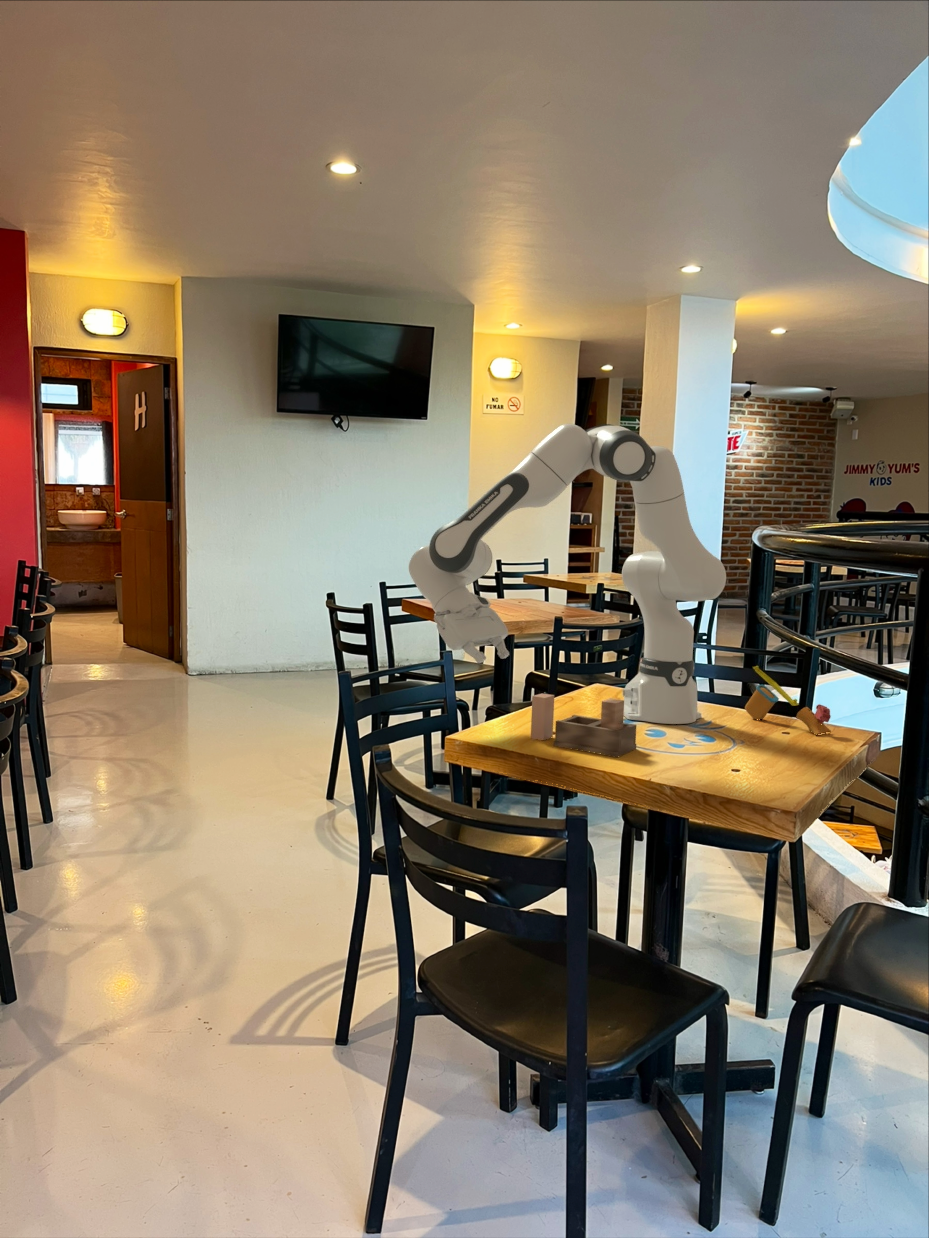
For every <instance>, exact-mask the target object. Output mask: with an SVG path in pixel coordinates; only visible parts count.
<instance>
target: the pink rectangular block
mask: <svg viewBox="0 0 929 1238" xmlns="http://www.w3.org/2000/svg"><path fill="white" fill-rule="evenodd" d="M554 710H555V694H547V693H538V694H535V695H532V696H531V719H530V720H531V721H530V722H531V724H530V739H531V738H532V739H531V740H535V739H538V740H537V741H541V740H544V741H547V740H550V739H551V737H554V736H553V734H554V714H555V713H554V712H555V711H554ZM549 738H550V739H549ZM546 739H547V740H546Z"/></svg>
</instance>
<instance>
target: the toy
mask: <svg viewBox="0 0 929 1238" xmlns="http://www.w3.org/2000/svg"><path fill="white" fill-rule="evenodd" d="M752 669H753V670H754V672H755V673H757V675H759V676H760V677H761V678H762V679H763V680H764V681H765V682H767V683H768V685H769V686H771V687H772V688H773V689H774V690H775V691H776V692H777V693H778V694H779V695H780V696H781V697H782V698H784V700H786V701H787V702H788V703H789V704H790V705H791V706H800V704H799V703H798V699H796V698H794V699H793V698H792V697H791V696H790V695H789V694H788V693H787V692H786V691H784V689H783V688H782V687H780V685H779V684H778V683H777V682H776V681H775V680H773V679H772V678H771V677H770V676H769V675H767V674H766V673H765V672H763V671H762V670H761V669H760V668H759V665H756V666H752ZM779 700H780V698H779V697H778V695H776V694H775V693H774V692H772V690H770V688H768V687H767V686H766V685H764V684H759V685H756V689H755V691H754V692H753V694H752V696H750V698H749V700H748V701H747V702H746V704H745V706H744V710H745V711H746V713H747V714H748V715H749V716H750V717H751V718H752V719H754V720H755V719H756V720H755V721H757V719H758V720H759V719H762V720H764V719H763V718H766V716H767V714H768V713H769V711H770V710H771V709H772V707H773V706H774V705H775V704H776V703H777V702H779ZM815 710H816V711H815V713H814V712H813V711H812V710H811V709H810V708H809V707H808V706H805V707H803V708H802V709H800V710H799V711H798V712H797V714H796V716H795V718H796V719H798V720H799V721H801V722H802V723H803V724H805V725H806V727H807V728H808V730H809V732H810V731H812V732H813V733H815V734H817V735H818V734H821V733H826V732H830V733H831V732H832V730H831V729H829V727H828V726H826V724H825V723H829V721H830V719H831V717H832V715H831V709H830V708H828V707H827V706H825V705H822V704H821V703H819V704H817V705H816V707H815ZM821 724H822V725H821ZM812 732H811V733H812ZM813 733H812V734H813ZM815 734H814V735H815Z"/></svg>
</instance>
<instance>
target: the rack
mask: <svg viewBox="0 0 929 1238" xmlns="http://www.w3.org/2000/svg"><path fill="white" fill-rule="evenodd" d="M600 708H601V710H600V711H601V712H600V714H601V715H600V718H597V717H596V718H594V717H589V716H582V715H579V714H578V715H576V714H572V715H571V716H570V717H567V718H564V719H562V720H561V719H560V720H558V719H557V720H555V728H554V729H555V730H554V731H555V732H554V734H555V735H554V740H553V747H557V746H559V747H558V748H563V747H566V748H565V749H568V748H572V749H571V750H574V749H578V750H577V751H579V750H583V751H582V752H584V751H590V752H595V753H601V754H605V755H604V756H606V755H610V756H609V757H612V756H615V757H614V758H619V757H618V756H620V757H622V756H624V755H626V754H628V753H631V752H633V751H635V750H636V749H637V743H636V739H637V724H633V723H627V722H624V717H625V716H624V699H618V698H608V699H605V700H602V701H601V707H600ZM634 749H635V750H634ZM590 752H589V753H590ZM595 753H594V754H595ZM625 753H626V754H625ZM601 754H600V755H601ZM623 754H624V755H623ZM621 755H622V756H621Z"/></svg>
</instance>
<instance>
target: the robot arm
mask: <svg viewBox="0 0 929 1238" xmlns="http://www.w3.org/2000/svg"><path fill="white" fill-rule="evenodd" d="M591 469H592V470H594V471H595V472H597V473H598V474H600V475H602V476H604V477H608V478H610V479H612V480H614V481H618V482H619V481H620V482H629V483H630V486H631V487H632V495H633V499H634V506H635V513H636V517H637V524H638V529H639V531H640V534H641V535H642V536H643V537H644V539H646V540H647V541H648V542H650V543H652V544H653V545H654V546H655V547H656V548H657V551H656V550H648V551H642V552H641V551H640V552H637V553H636V552H635V553H633V554H631V555H629V556H628V557H627V558H626V559H625V561H624V563H623V566H622V570H621V580H622V583H623V585H624V587H625V589H626V590H627V591H628V592H629V593H630V594H631V595H632V596H633V598H634V600H635V601H636V603H637V605H638V606H639V609H640V613H641V615H642V619H643V620H642V621H643V627H644V648H643V649H644V651H643V657H641V658H639V660H641V661H639V668H638V671H639V672H638V673H637V674H636V675H635V676H634V677H633V678H632V679H631V680H630V681H629V682H628V683H627V684H626V685H625V687H624V688H622V696H623V700H624V716H623V717H625V718H626V719H628V720H630V721H631V720H633V721H642V722H649V723H655V724H664V725H665V724H669V725H676V724H677V725H682V724H691V723H694V722H697V720H699V719H701V718H702V712H700V711H698V685H697V683H696V681H695V680H694V679H693V676H694V672H695V660H694V659H693V656H694V655H693V652H694V651H693V650H694V635H695V631H694V627H693V625H692V622H690V621H689V620H688V619H687V617H686V618H685V617H684V616H683V615H682V614H681V612H680V610H679V608H678V605H677V602H676V601H684V602H692V603H693V602H703V601H709V600H710V601H711V600H715V599H716V598H718V597H719V596H720V595H721V593H722V592H723V590H724V589H725V586H726V584H727V583H726V582H727V573H726V569H725V566H724V563H722V561H721V560H720V559H719V558H718V557H716V555H715V556H714V555H713V554H712V553H711V552H710V551H709V550H708V549H707V548H706V547H705V546H704V545H703V544H702V542H701V541H700V539H699V538H698V536H697V535H696V533H695V531H694V528H693V527H692V523H691V520H690V517H689V513H688V507H687V502H686V496H685V491H684V485H683V480H682V476H681V472H680V469H679V465H678V463H677V459H676V458H675V455H674V453H673V452H672V451H671V449H669V448H667V447H665V446H660V445H653V446H650V445H649V444H648V443H647V441H646V440H645V439H644V438H643V437H642V436H641V435H640V434H639V433H637V432H635V431H633V430H630V429H629V428H626V427H624V426H620V425H613V424H609V423H604V424H603V423H602V424H599V425H596V426H593V427H589V428H587V429H583V428H582V427H581V426H579V425H576V424H573V423H563V424H561V425H559V426H557V428H556V429H554V430H553V431H552V432H550V433H549V434H547V435H546V436H545V437H544V438H543V439H542V440H541V441H539V442H538V444H536V445H535V446H534V448H533V449H532V450H531V451H530V452H529V453H528V454H527V455H526V456H525V457H524V458H523V459H522V460H521V461H520V462H519V463H518V464H517V465H516V466H515V467H514V468H513V470H511V471H510V472H509V473H508V474H507V475H505V476H504V477H503V478H502V479H500V480H499V481H497V482H496V483H495V484H494V485H493V486H492V487H491V488H490V489H488V491H486V492H485V494H483V495H482V496H481V497H480V498H479V499H478V500H477V501H476V502H475V503H474V504H473V505H471V506H470V508H468V509H467V510H466V511H465V512H464V513H463V514H462V515H461V516H459V517H458V518H456V519H454V520H452V521H450V522H448V523H446V524H444V525H442V526H441V527H439V528H438V529H437V530H436V531H435V532H434V533H433V535H432V537H431V539H430V540H429V545H424V546H421V547H420V548H419V549H418V550H417V551H415V552H414V554H413V555H412V556H411V558H410V560H409V562H408V572H409V575H410V578H411V579H412V581H413V583H414V584H415V586H416V588H417V589H418V590H419V592H420V594H421V595H422V596H423V598H425V599H426V600H427V601H428V602H429V603H430V605H431V607H432V610H433V611H434V614H433V615H434V616H433V620H434V622H435V623H436V630H437V631H438V634H439V635H440V636H441V638H442V640H443V641H444V644H445V645H446V646H447V647H448V648H449V649H451V650H452V651H459V650H463V651H464V653H466V654H467V655H468V656H470V657H471V658H473V659H474V661H475V662H476V664H481V663H484V662H485V661H486V659H487V656H486V655H485V654H484V652H483V651H480V650H479V649H478V648H477V647H483V646H488V645H490V646H491V645H493V647H494V648H496V650H497V652H496V653H497V655H498V657H499V658H500V659H502V660H503V659H507V657H509V656H510V651H509V650H508V649H507V648H506V647H507V646H506V644H505V639H506V637H508V636H509V630H508V627H507V626H506V623H504V621H503V620H502V619H501V617H500V616H499V614H498V612H496V611H495V610H494V609H493V608H492V607H491V605H492V604H491V602H490V601H489V599H488V598H486V597H484V596H479V595H477V594H475V593H473V592H472V591H470V590H469V589H468V588H467V586H468V585H470V584H472V583H474V582H475V581H477V580H479V579H481V578H482V577H483V576H485V575H486V574H487V573H488V572H489V570H490V568H491V566H492V563H493V553H492V550H491V548H490V546H489V545H488V544H487V543H486V542H485V541H483V540H482V539H483V538H484V537H485V536H486V535H487V534H488V533H489V532H490V531H491V530H492V529H494V527H495V526H497V524H498V523H500V522H501V521H502V520H503V519H504V518H505V517H506V516H507V515H508V514H510V513H512V512H514V511H516V510H518V509H524V508H525V509H526V508H541V507H546V506H548V505H549V504H550V503H552V502H553V501H555V499H557V498H558V497H559V496H560V495H561V494H562V493H563V492H564V491H565V490H566V489H567V488H568V487H569V485H571V483H572V482H573V481H574V480H575V479H576V477H578V476H579V475H580V474H582V473H583V472H585V471H587V470H591Z"/></svg>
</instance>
